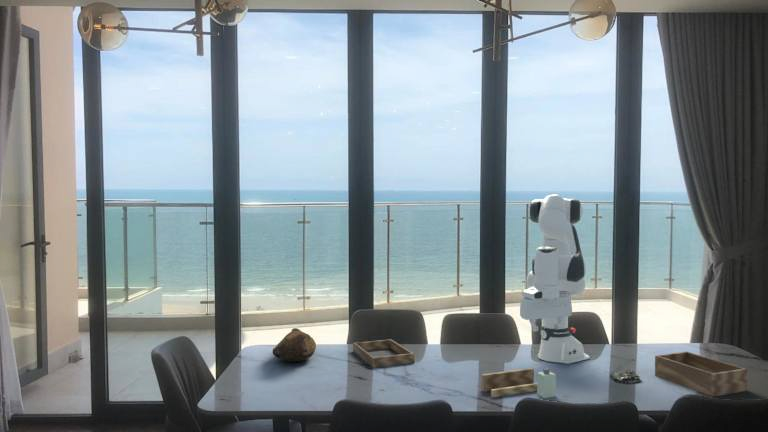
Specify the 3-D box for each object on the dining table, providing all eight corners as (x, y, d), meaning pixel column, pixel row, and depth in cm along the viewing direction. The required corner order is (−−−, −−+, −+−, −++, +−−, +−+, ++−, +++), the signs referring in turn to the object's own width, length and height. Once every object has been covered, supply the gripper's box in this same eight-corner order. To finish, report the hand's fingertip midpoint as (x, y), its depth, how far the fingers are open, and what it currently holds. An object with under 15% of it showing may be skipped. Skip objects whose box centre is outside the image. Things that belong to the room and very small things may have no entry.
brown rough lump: (306, 372, 233) (305, 336, 233) (262, 371, 235) (262, 335, 235) (324, 348, 270) (323, 317, 270) (286, 347, 272) (286, 316, 271)
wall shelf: (531, 383, 219) (531, 367, 219) (544, 389, 212) (544, 373, 211) (481, 390, 211) (481, 374, 211) (492, 397, 204) (493, 380, 203)
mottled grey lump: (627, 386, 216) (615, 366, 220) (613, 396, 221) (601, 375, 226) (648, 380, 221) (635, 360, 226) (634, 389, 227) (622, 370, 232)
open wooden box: (686, 370, 234) (686, 351, 234) (746, 390, 210) (747, 369, 210) (654, 375, 228) (655, 355, 228) (713, 396, 204) (713, 374, 204)
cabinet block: (548, 392, 208) (548, 367, 208) (555, 396, 205) (555, 370, 204) (537, 394, 207) (537, 368, 206) (543, 398, 203) (544, 371, 203)
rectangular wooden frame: (391, 347, 272) (391, 339, 272) (414, 362, 247) (414, 353, 246) (353, 351, 265) (353, 343, 265) (373, 367, 240) (373, 358, 240)
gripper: (564, 289, 211) (564, 326, 212) (517, 292, 204) (517, 330, 204) (576, 291, 205) (575, 329, 206) (528, 294, 198) (527, 334, 198)
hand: (546, 330), depth 205 cm, fingers open, 8 cm apart
